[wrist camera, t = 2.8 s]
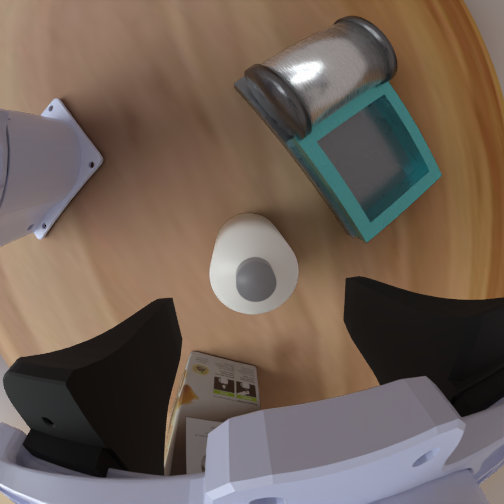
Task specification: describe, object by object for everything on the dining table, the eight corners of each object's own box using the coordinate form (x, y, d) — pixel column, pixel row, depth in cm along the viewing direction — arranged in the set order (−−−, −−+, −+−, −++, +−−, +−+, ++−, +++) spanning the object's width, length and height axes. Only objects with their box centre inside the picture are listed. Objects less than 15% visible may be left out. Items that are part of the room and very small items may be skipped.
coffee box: (188, 347, 23) (159, 522, 8) (257, 365, 24) (282, 532, 9) (171, 409, 25) (149, 542, 10) (228, 422, 26) (232, 553, 11)
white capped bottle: (243, 287, 22) (249, 340, 15) (202, 241, 20) (187, 278, 13) (293, 249, 21) (321, 288, 14) (253, 199, 20) (265, 215, 13)
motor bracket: (347, 234, 21) (386, 259, 15) (234, 87, 17) (234, 54, 11) (425, 168, 20) (475, 172, 14) (330, 30, 16) (360, -6, 10)
